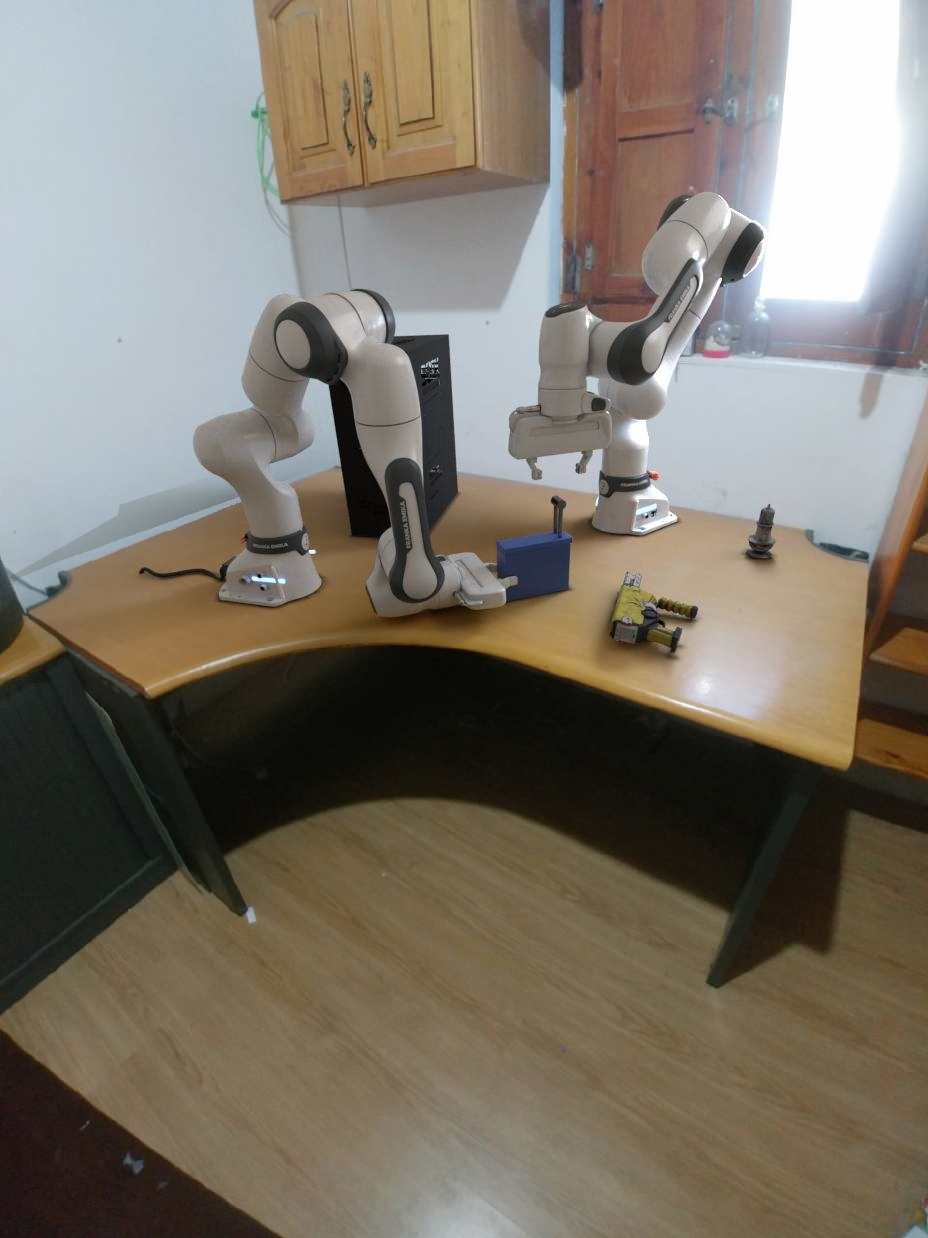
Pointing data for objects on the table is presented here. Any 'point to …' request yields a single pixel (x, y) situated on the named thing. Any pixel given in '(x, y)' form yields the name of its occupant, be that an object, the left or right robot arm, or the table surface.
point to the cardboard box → (437, 440)
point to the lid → (543, 538)
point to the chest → (535, 571)
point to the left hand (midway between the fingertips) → (510, 573)
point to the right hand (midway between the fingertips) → (558, 475)
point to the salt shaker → (762, 535)
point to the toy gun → (645, 616)
